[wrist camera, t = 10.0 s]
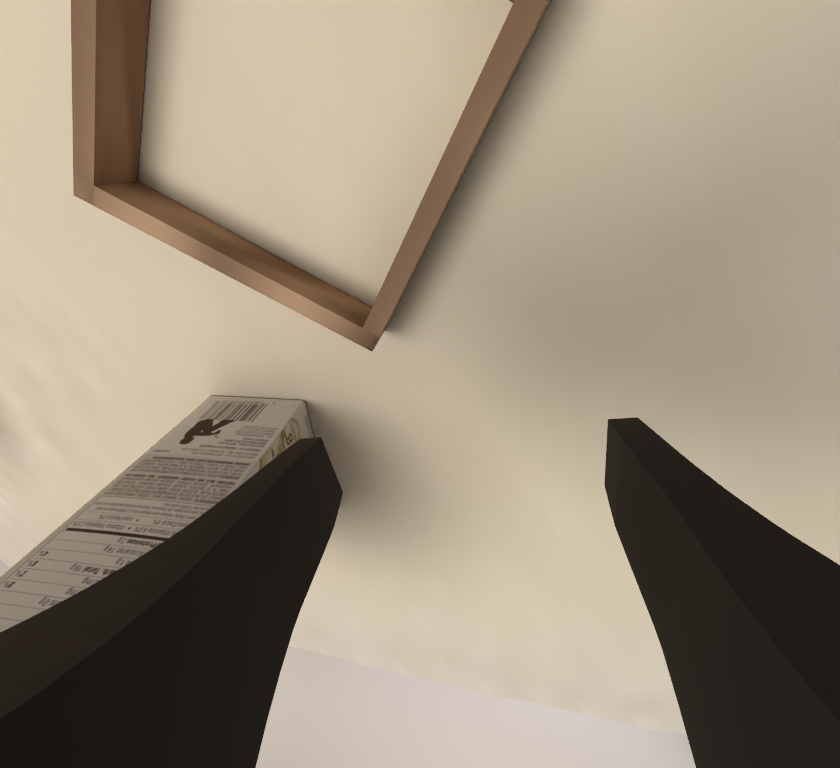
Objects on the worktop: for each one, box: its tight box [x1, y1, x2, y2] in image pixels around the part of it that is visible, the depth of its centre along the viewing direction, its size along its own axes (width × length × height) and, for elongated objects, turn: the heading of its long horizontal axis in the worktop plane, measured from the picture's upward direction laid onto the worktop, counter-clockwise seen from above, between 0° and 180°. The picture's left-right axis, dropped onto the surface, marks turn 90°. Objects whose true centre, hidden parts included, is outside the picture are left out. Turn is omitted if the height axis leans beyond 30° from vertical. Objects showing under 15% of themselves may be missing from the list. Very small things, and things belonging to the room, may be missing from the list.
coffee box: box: [0, 396, 313, 632], centre depth 18 cm, size 9×6×16 cm
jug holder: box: [71, 0, 550, 351], centre depth 14 cm, size 13×13×2 cm
